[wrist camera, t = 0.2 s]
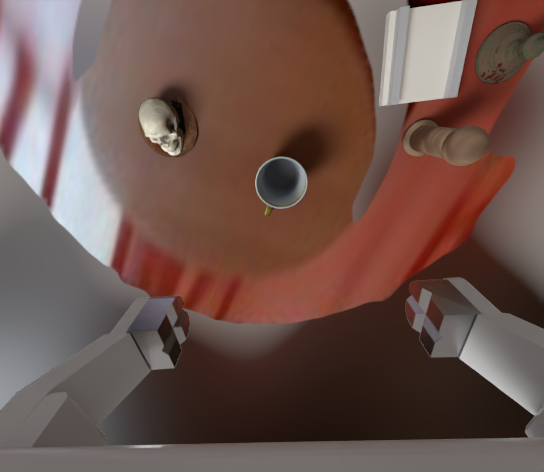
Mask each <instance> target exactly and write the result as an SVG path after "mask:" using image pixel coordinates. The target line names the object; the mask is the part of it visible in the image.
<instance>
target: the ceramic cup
mask: <svg viewBox="0 0 544 472" xmlns="http://www.w3.org/2000/svg"><path fill="white" fill-rule="evenodd" d="M255 186H256V191H257V193H258V196H259V197H260V199H261V200H262V201H263V202H264V203H265V204H267V205H268V206H267V209H266V212H265V216H269V215H270V213H271V212H272V210H273V208H278V209H285V208H289V207H292V206H294V205H296V204H297V203H298V202H300V201H301V199H302V198H303V197H304V195H305V193H306V191H307V187H308V177H307V174H306V171H305V169H304V168H303V166H302V165H301V164H300V163H299V162H297V161H296V160H294V159H292V158H289V157H286V156H278V157H274V158H272V159H270V160H268V161H266V162H265V163H264V164H263V165H262V166H261V167H260V169H259V170H258V172H257V175H256V179H255Z"/></svg>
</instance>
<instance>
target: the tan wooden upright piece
mask: <svg viewBox="0 0 544 472" xmlns="http://www.w3.org/2000/svg"><path fill="white" fill-rule="evenodd" d="M402 146H403V149H404V151H405V152H406V153H408V154H409V155H412V156H422V155H425V154H428V155H432V156H436V157H439V158H443V159H445V160H446V161H447V162H448V163H450V164H452V165H456V166H464V165H469V164H471V163H474V162H476V161H477V160H479V159H480V158H481V157H482V156H483V155H484V154H485V153H486V151H487V149H488V147H489V136H488V134H487V132H486V131H485V130H483V129H482V128H480V127H477V126H464V127H461V128H450V127H438V125H437V124H436V123H435V122H433V121H431V120H419V121H417V122H415V123H413V124H412V125H410V126H409V127H408V129H407V130H406V131H405V133H404V135H403V139H402Z"/></svg>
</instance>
